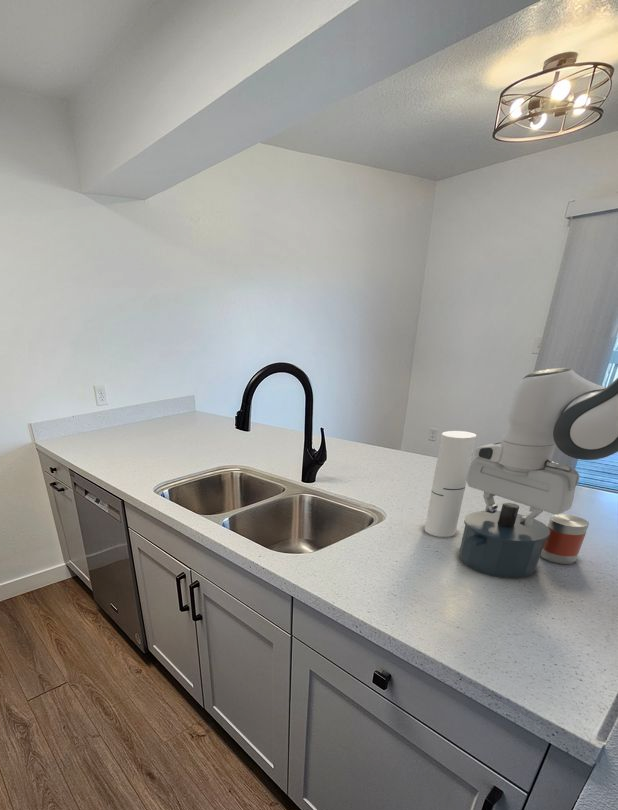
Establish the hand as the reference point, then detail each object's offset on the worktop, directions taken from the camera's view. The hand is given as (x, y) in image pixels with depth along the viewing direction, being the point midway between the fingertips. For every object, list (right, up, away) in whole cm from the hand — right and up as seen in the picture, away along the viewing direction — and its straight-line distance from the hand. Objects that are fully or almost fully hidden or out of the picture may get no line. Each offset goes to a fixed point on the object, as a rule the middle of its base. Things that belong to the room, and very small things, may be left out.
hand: (507, 518), depth 93 cm
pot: (+1, -9, +5) cm, 10 cm away
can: (+14, -8, +5) cm, 17 cm away
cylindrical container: (-4, -2, +20) cm, 20 cm away
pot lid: (0, -2, +1) cm, 2 cm away
